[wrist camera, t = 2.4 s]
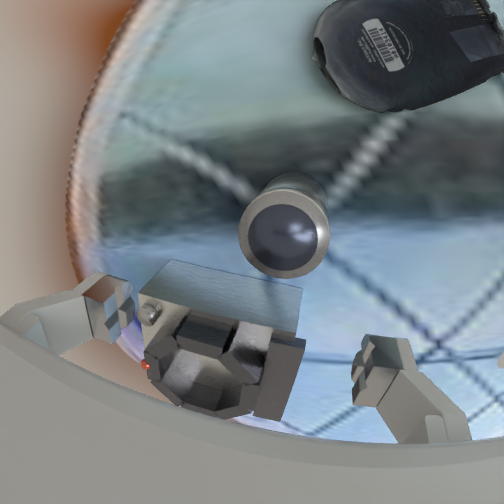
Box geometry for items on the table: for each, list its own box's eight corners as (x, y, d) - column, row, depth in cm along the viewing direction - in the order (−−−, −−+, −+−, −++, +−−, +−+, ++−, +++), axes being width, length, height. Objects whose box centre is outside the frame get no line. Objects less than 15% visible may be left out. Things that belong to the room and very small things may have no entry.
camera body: (312, 290, 25) (303, 363, 18) (289, 370, 30) (275, 439, 22) (171, 259, 27) (118, 312, 19) (173, 340, 32) (136, 397, 24)
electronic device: (441, -17, 13) (288, 21, 17) (476, -33, 8) (297, -4, 12) (485, 78, 17) (347, 129, 20) (526, 81, 12) (372, 139, 15)
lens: (333, 178, 21) (339, 203, 15) (320, 241, 24) (318, 289, 17) (265, 165, 22) (241, 185, 16) (257, 228, 24) (232, 270, 18)
